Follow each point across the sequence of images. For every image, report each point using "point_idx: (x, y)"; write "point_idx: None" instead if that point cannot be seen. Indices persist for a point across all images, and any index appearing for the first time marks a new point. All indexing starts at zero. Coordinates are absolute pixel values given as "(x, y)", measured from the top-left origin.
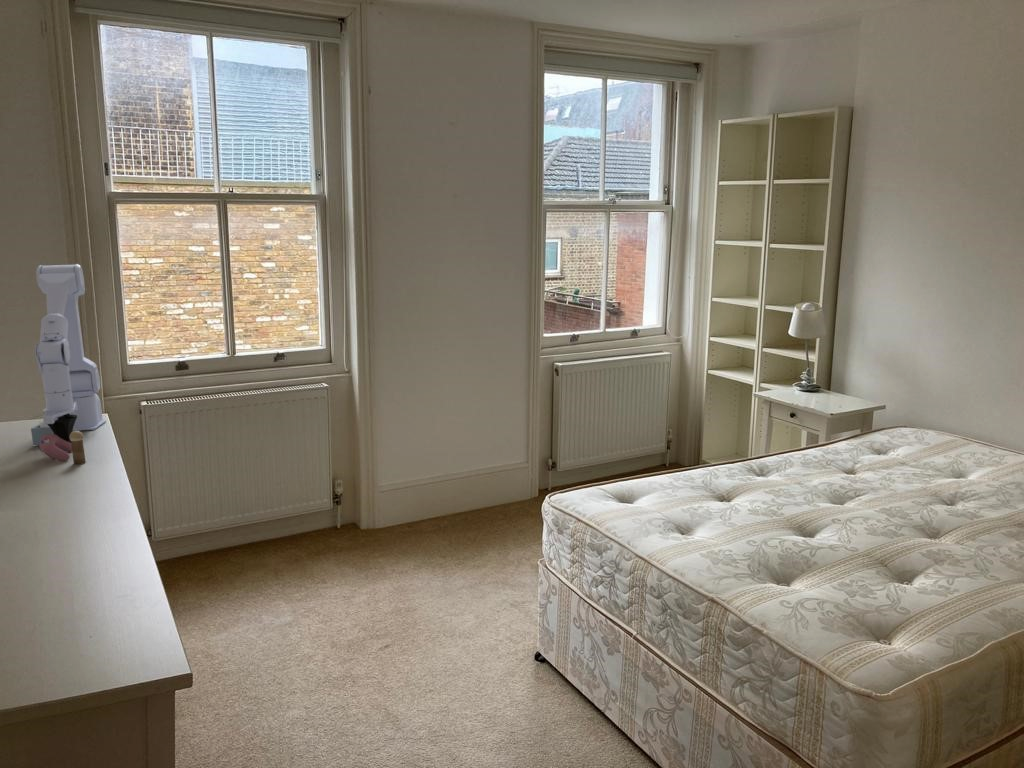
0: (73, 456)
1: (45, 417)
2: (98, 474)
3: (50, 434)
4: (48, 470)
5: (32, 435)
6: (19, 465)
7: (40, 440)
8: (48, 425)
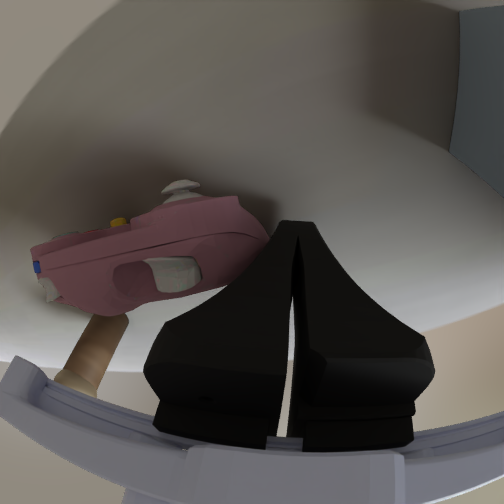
0: (87, 325)
1: (3, 407)
2: (64, 348)
3: (91, 307)
4: None
5: (500, 9)
6: (53, 114)
7: (478, 54)
8: (182, 314)
